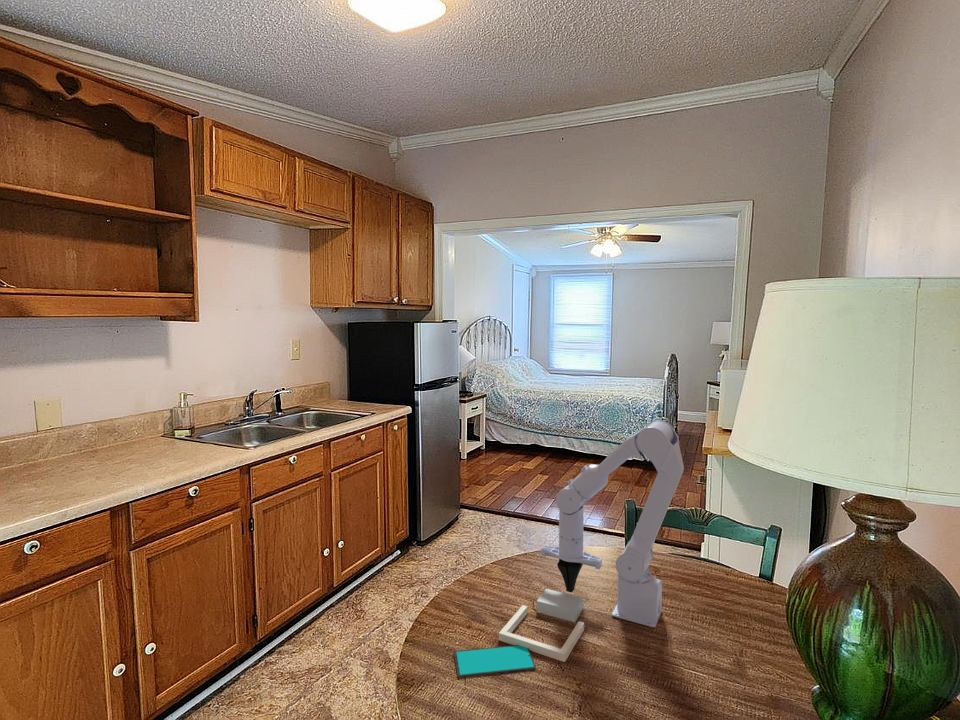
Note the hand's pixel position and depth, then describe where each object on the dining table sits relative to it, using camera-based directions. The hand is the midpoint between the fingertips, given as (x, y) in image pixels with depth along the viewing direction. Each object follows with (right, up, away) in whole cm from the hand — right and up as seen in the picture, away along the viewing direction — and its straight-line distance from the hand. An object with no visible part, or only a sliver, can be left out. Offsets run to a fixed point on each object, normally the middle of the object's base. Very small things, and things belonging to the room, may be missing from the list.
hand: (570, 590), depth 127 cm
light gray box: (-3, -2, -6) cm, 7 cm away
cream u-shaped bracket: (-8, -3, -15) cm, 17 cm away
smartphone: (-19, -4, -24) cm, 31 cm away
